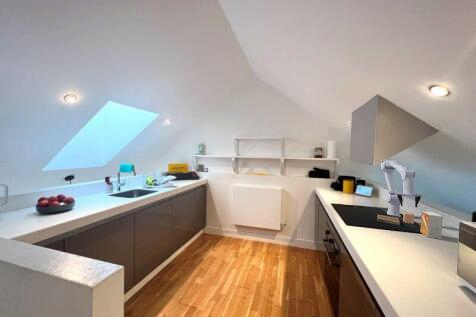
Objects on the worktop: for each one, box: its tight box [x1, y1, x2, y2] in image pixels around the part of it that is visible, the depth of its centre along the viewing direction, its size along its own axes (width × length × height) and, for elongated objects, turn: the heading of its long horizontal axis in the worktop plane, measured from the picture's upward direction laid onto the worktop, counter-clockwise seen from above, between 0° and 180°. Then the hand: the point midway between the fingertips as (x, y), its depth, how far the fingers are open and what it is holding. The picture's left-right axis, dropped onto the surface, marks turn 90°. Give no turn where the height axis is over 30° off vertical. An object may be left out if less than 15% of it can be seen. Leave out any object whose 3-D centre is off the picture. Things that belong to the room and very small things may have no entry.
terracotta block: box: [402, 211, 415, 225], centre depth 142 cm, size 5×5×6 cm
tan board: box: [376, 214, 401, 226], centre depth 143 cm, size 12×12×2 cm
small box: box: [420, 210, 444, 240], centre depth 119 cm, size 8×6×13 cm
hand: (408, 206), depth 142 cm, fingers open, 7 cm apart
